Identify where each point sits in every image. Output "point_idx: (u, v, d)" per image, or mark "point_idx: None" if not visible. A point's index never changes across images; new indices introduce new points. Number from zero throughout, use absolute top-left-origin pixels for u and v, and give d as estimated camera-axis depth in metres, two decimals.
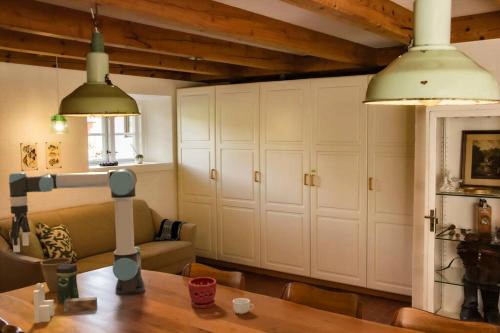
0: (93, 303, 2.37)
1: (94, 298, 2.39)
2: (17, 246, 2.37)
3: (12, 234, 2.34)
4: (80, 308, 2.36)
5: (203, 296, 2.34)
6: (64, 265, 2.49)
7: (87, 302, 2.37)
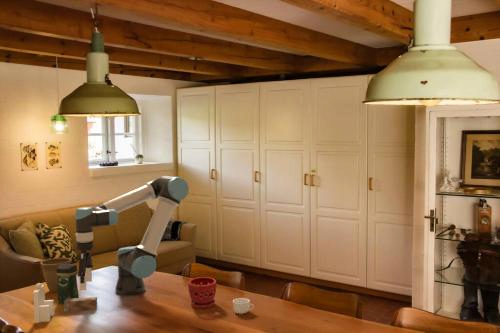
0: (93, 303, 2.37)
1: (94, 298, 2.39)
2: (84, 284, 2.31)
3: (80, 272, 2.28)
4: (80, 308, 2.36)
5: (203, 296, 2.34)
6: (64, 265, 2.49)
7: (87, 302, 2.37)
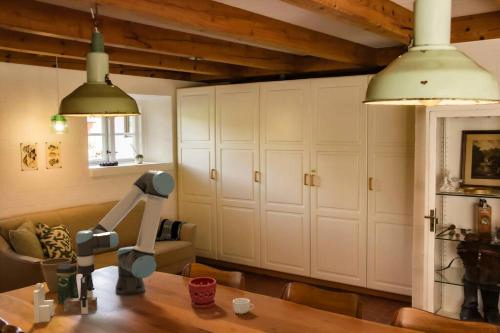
0: (93, 303, 2.37)
1: (94, 298, 2.39)
2: (85, 308, 2.32)
3: (81, 296, 2.29)
4: (80, 308, 2.36)
5: (203, 296, 2.34)
6: (64, 265, 2.49)
7: None
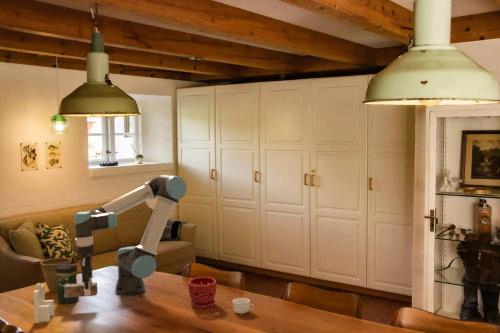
0: (93, 288, 2.37)
1: (94, 283, 2.39)
2: (88, 290, 2.36)
3: (83, 279, 2.32)
4: (80, 293, 2.36)
5: (203, 296, 2.34)
6: (64, 265, 2.49)
7: None
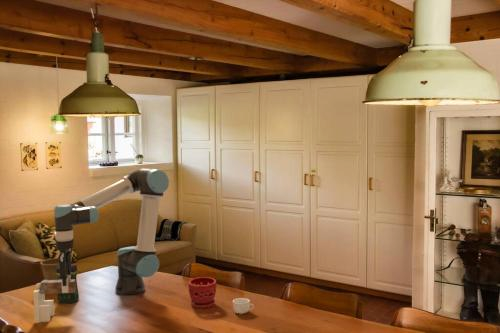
0: (71, 285, 2.26)
1: (72, 280, 2.28)
2: (66, 287, 2.25)
3: (61, 275, 2.22)
4: (57, 290, 2.26)
5: (203, 296, 2.34)
6: None
7: None
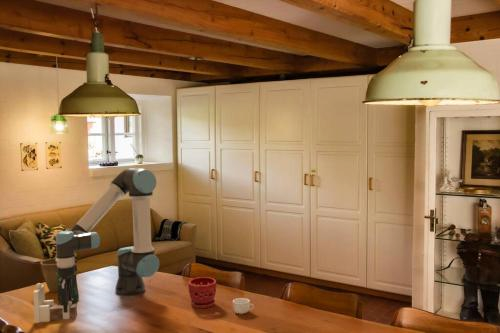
0: (72, 311, 2.27)
1: (73, 306, 2.29)
2: (67, 313, 2.26)
3: (62, 302, 2.23)
4: (58, 316, 2.26)
5: (203, 296, 2.34)
6: None
7: None
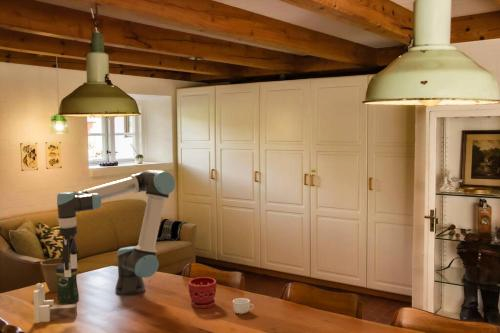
0: (72, 311, 2.27)
1: (73, 305, 2.29)
2: (68, 271, 2.23)
3: (63, 258, 2.20)
4: (58, 316, 2.26)
5: (203, 296, 2.34)
6: None
7: (66, 310, 2.27)
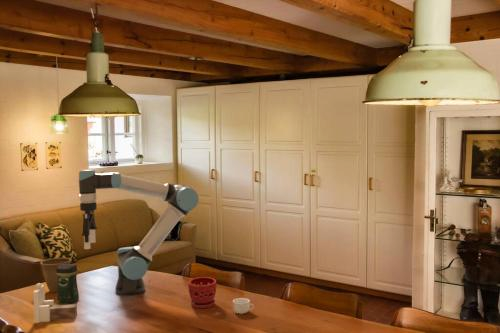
0: (72, 311, 2.27)
1: (73, 305, 2.29)
2: (88, 243, 2.37)
3: (84, 231, 2.34)
4: (58, 316, 2.27)
5: (203, 296, 2.34)
6: (64, 265, 2.49)
7: (66, 309, 2.27)
